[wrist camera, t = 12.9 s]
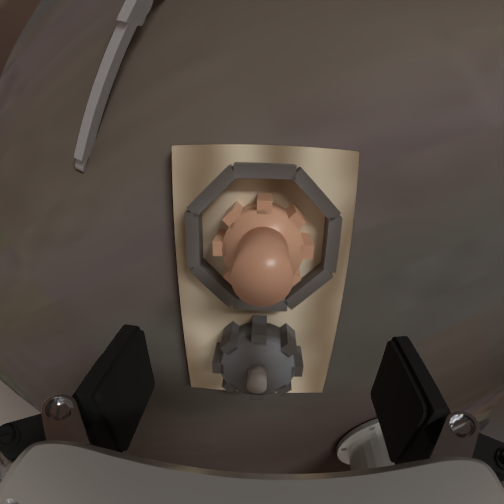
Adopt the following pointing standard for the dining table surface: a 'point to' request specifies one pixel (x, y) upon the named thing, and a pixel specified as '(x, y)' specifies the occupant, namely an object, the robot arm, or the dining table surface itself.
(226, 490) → the robot arm
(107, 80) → the caliper
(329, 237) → the carrier
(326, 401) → the dining table surface
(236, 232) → the planet gear
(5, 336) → the dining table surface
